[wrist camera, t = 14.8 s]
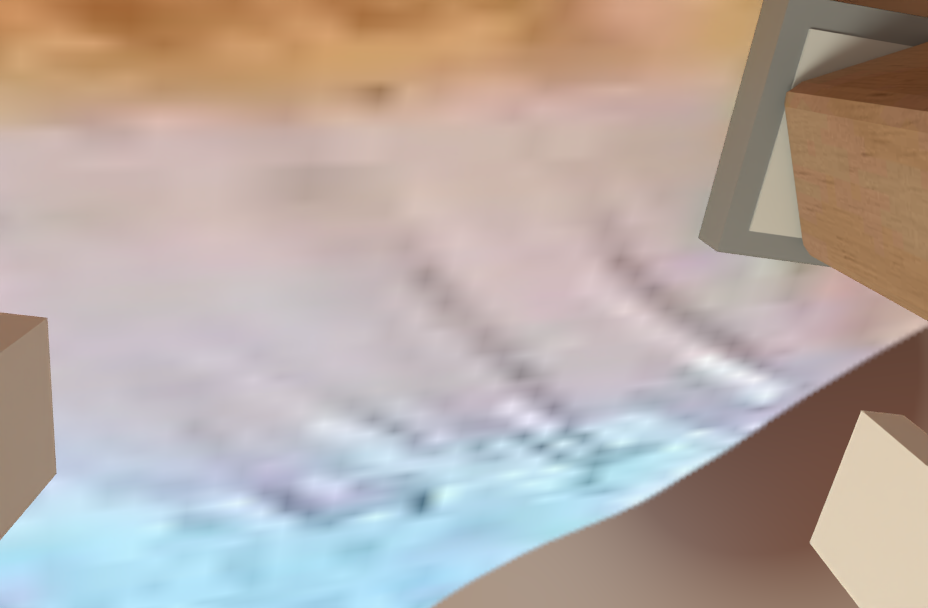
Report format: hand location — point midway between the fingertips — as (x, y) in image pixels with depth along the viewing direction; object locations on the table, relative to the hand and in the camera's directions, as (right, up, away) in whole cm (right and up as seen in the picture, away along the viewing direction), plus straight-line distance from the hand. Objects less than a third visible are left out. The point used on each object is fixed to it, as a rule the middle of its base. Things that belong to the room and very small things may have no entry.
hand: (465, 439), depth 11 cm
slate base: (+23, +12, +31) cm, 40 cm away
